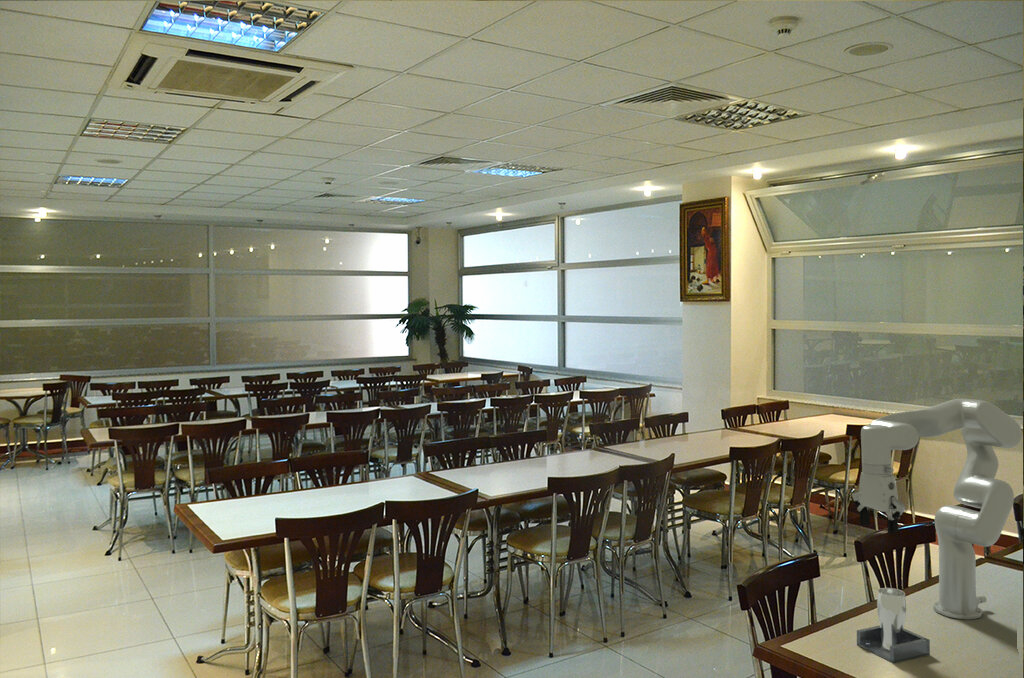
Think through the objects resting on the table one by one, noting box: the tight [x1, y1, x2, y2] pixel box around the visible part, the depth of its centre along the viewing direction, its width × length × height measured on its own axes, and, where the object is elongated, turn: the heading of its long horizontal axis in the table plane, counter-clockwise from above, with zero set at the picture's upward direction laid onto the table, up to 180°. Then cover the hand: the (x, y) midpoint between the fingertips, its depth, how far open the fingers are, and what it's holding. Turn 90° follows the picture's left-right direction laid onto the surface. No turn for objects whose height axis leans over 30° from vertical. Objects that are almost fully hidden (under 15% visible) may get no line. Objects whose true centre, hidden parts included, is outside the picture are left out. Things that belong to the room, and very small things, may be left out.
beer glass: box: [876, 587, 907, 651], centre depth 209 cm, size 7×7×15 cm
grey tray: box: [856, 625, 931, 664], centre depth 210 cm, size 12×12×4 cm
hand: (878, 529), depth 222 cm, fingers open, 9 cm apart
